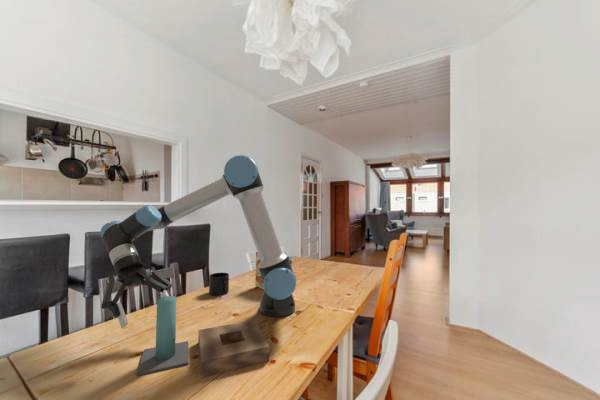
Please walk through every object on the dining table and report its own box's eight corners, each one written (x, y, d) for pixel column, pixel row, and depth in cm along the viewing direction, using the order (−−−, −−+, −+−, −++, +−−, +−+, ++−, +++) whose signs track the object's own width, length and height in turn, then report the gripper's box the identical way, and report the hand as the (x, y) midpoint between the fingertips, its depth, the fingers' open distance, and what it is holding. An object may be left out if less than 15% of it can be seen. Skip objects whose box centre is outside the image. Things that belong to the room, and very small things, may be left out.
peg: (175, 349, 75) (176, 295, 76) (174, 358, 71) (176, 300, 71) (156, 352, 73) (158, 297, 74) (154, 362, 69) (156, 303, 69)
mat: (188, 342, 80) (188, 341, 80) (188, 364, 69) (188, 362, 69) (144, 351, 75) (144, 349, 75) (136, 376, 64) (136, 373, 64)
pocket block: (253, 331, 88) (253, 320, 88) (269, 360, 71) (269, 346, 71) (198, 342, 80) (198, 329, 80) (201, 377, 64) (201, 361, 64)
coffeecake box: (254, 287, 137) (255, 251, 137) (264, 284, 142) (265, 249, 143) (274, 293, 127) (274, 254, 128) (283, 290, 133) (284, 253, 133)
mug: (217, 298, 119) (217, 279, 119) (205, 292, 127) (206, 274, 127) (234, 294, 125) (235, 276, 126) (222, 288, 134) (223, 271, 134)
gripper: (158, 261, 96) (181, 309, 88) (75, 276, 75) (95, 341, 67) (167, 248, 94) (191, 297, 86) (83, 260, 72) (106, 326, 64)
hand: (149, 316), depth 76 cm, fingers open, 13 cm apart
